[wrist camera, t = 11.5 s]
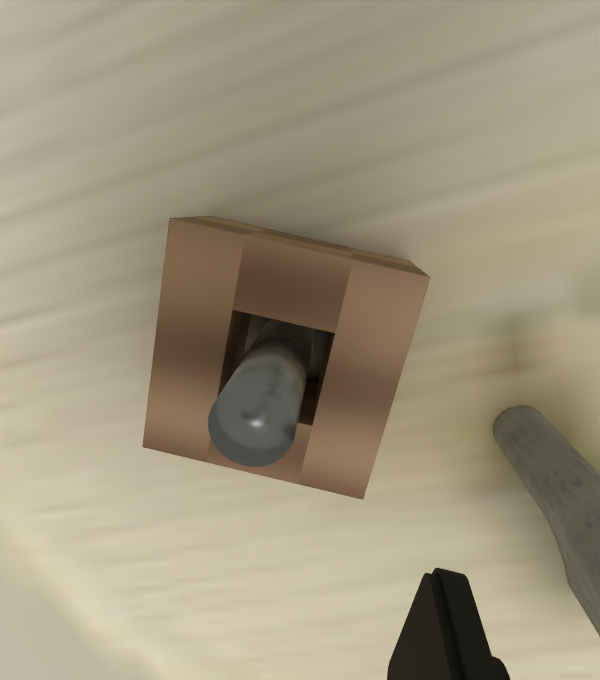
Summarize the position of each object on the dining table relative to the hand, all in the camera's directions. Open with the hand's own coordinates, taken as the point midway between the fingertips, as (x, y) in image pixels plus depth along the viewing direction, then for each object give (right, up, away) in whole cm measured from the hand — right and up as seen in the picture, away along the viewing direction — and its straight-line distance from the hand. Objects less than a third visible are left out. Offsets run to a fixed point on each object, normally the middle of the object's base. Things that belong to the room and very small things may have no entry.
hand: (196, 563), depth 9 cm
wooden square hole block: (+1, +5, +18) cm, 19 cm away
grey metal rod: (+1, +5, +18) cm, 19 cm away
